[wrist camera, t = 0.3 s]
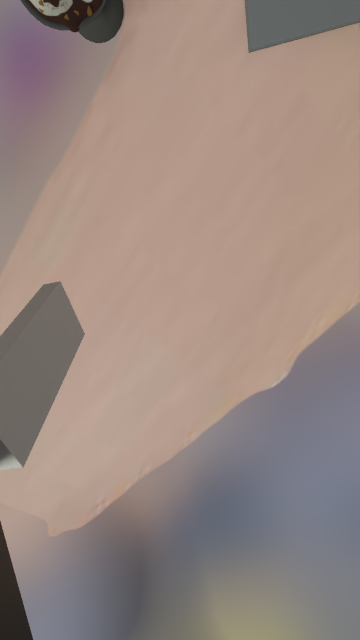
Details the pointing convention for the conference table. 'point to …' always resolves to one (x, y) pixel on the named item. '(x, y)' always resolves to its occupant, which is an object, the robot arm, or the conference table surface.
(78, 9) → the sundae
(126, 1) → the conference table surface
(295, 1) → the post stand
